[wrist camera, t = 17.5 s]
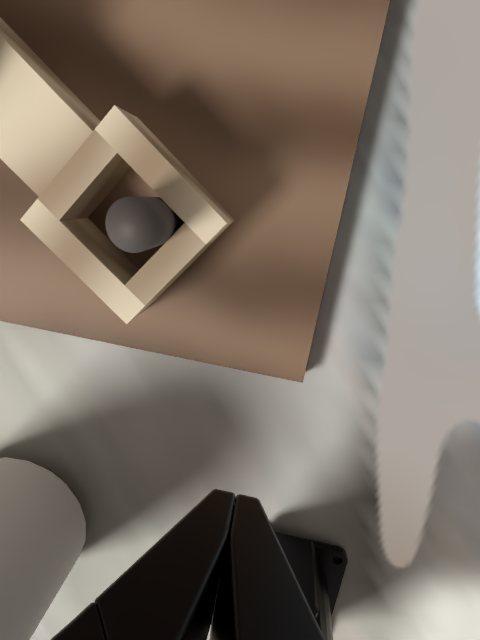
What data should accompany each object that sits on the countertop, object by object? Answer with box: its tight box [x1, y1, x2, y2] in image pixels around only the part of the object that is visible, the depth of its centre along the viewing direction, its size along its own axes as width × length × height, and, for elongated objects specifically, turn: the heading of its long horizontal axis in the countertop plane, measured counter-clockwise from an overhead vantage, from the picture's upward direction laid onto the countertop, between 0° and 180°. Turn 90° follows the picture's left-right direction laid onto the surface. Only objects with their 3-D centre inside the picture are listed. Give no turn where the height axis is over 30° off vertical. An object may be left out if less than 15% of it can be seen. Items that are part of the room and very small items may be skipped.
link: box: [0, 17, 235, 324], centre depth 17 cm, size 17×6×2 cm, turn 45°
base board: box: [0, 0, 390, 383], centre depth 16 cm, size 23×26×6 cm
